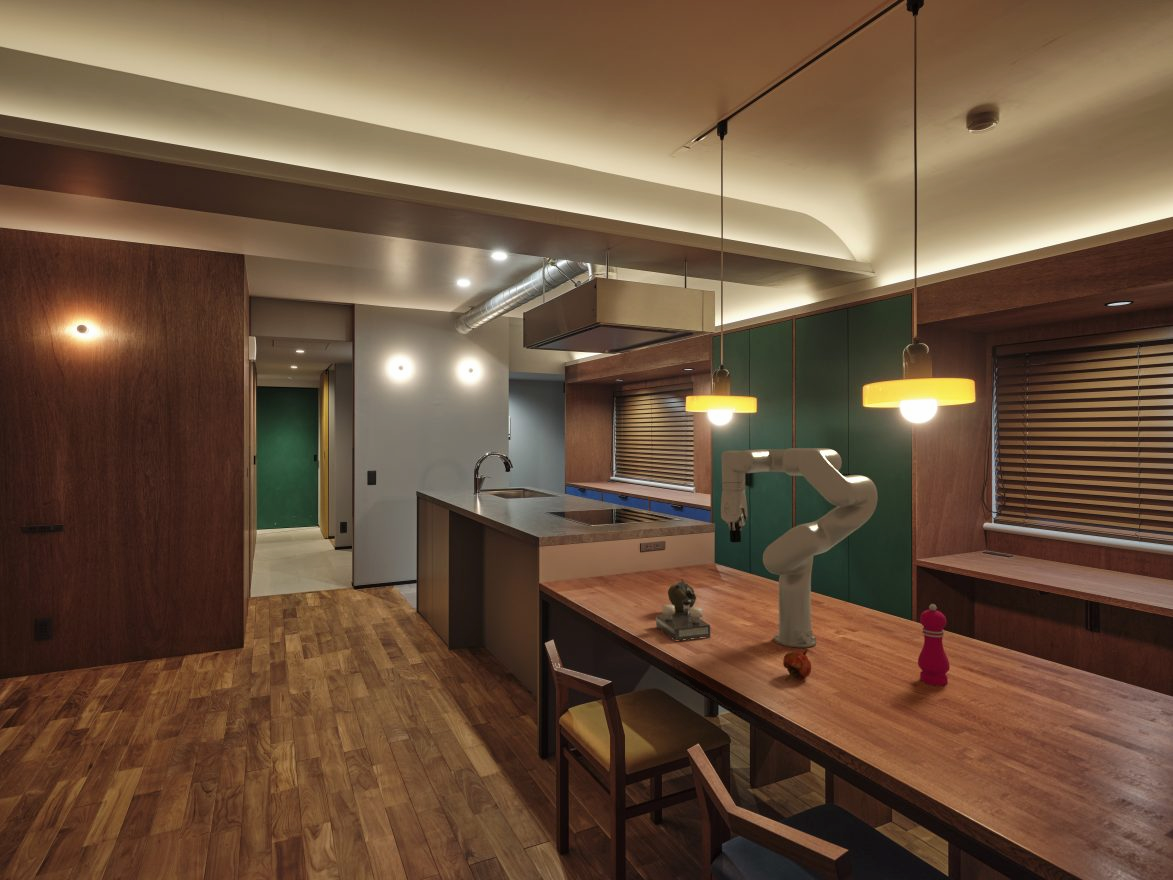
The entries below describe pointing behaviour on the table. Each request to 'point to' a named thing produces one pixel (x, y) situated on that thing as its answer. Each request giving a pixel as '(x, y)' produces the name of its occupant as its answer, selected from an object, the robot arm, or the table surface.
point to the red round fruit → (797, 664)
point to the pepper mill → (933, 648)
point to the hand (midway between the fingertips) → (735, 541)
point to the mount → (682, 627)
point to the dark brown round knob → (686, 605)
